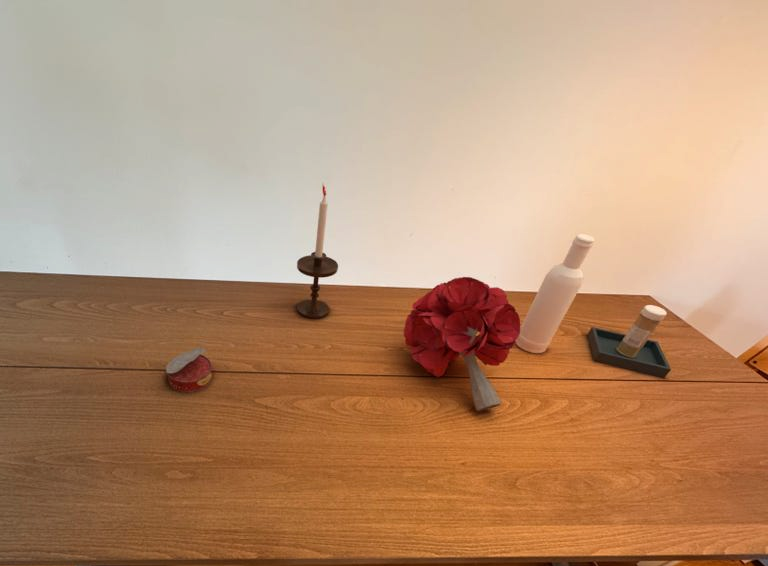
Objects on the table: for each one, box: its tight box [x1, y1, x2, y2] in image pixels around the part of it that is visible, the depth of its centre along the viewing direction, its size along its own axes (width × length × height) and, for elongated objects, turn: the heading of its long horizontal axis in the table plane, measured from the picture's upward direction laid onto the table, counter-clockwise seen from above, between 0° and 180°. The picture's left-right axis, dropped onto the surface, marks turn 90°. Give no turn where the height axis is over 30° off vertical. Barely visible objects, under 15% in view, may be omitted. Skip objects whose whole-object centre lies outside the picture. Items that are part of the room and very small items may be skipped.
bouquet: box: [403, 276, 521, 412], centre depth 94 cm, size 22×24×30 cm
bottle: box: [515, 233, 595, 354], centre depth 102 cm, size 8×8×30 cm
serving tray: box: [586, 326, 672, 379], centre depth 109 cm, size 16×13×3 cm
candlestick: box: [296, 184, 339, 320], centre depth 109 cm, size 11×11×35 cm
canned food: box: [165, 347, 213, 393], centre depth 94 cm, size 11×10×10 cm
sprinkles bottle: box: [616, 304, 668, 358], centre depth 105 cm, size 5×5×14 cm
